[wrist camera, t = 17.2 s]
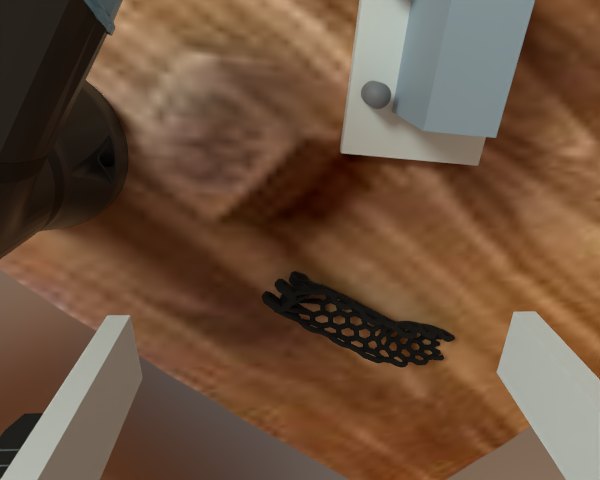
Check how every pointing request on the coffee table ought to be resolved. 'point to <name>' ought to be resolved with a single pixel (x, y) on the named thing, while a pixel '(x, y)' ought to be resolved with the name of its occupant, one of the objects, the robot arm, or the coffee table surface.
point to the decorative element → (305, 288)
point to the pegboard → (390, 95)
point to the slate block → (460, 64)
